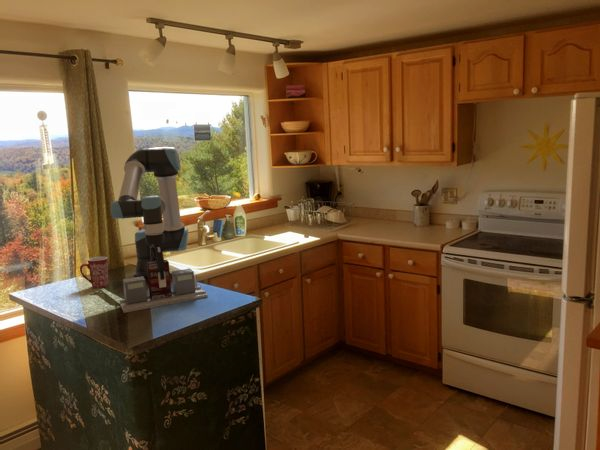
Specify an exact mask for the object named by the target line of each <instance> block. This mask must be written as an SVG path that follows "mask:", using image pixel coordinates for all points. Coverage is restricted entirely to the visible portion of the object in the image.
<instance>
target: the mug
mask: <svg viewBox="0 0 600 450" xmlns="http://www.w3.org/2000/svg"><path fill="white" fill-rule="evenodd" d="M86 261H87V263H83V264H81V265H80V267H79V272H80V274H81V276H83V278H84V280H85V279H86V280H87V282H88V283H90V284H91V287H92V288H94V289H99V288H100V289H101V288H106V287H108V286H109V272H108V270H109V268H108V267H109V266H108V257H107V256H95V257H90V258H88V259H87V260H86ZM83 267H87V269H88V270H89V275H90V279H89V278H88V277H86V275H85V274H84V273H83Z"/></svg>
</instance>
